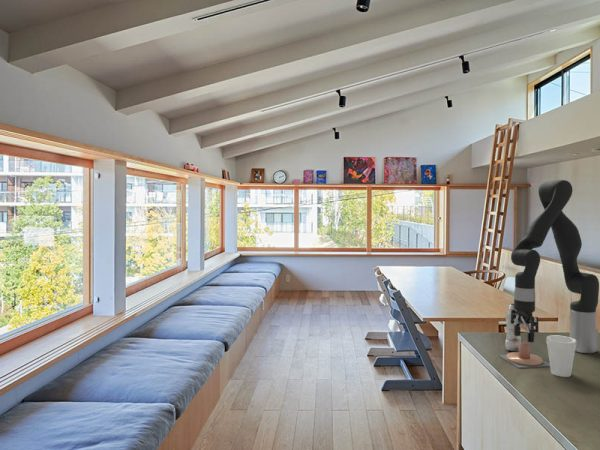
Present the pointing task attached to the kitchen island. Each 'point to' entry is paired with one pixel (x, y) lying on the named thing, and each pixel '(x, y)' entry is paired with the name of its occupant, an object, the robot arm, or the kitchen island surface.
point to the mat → (524, 365)
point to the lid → (524, 356)
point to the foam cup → (561, 354)
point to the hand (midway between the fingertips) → (523, 338)
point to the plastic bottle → (511, 333)
